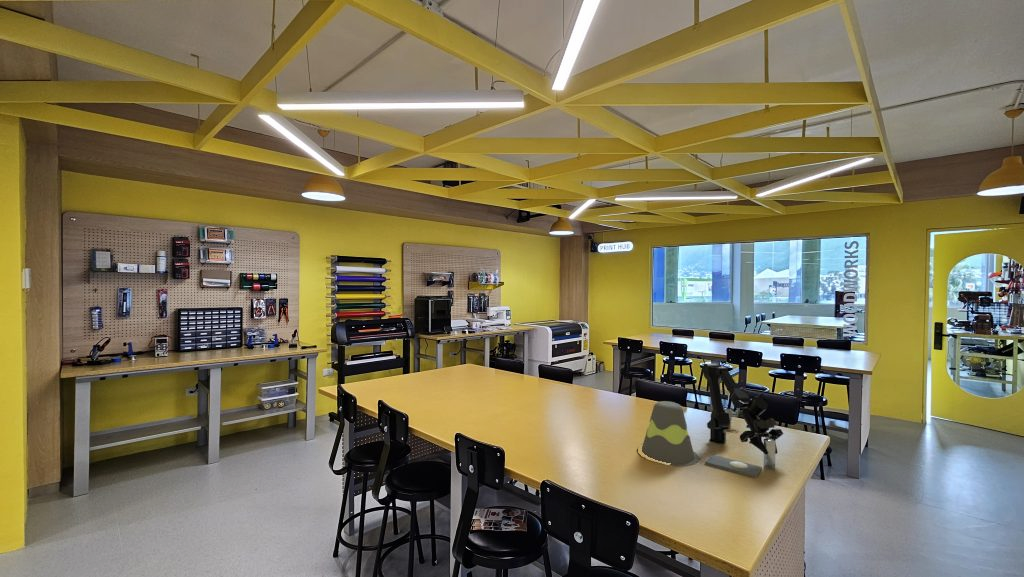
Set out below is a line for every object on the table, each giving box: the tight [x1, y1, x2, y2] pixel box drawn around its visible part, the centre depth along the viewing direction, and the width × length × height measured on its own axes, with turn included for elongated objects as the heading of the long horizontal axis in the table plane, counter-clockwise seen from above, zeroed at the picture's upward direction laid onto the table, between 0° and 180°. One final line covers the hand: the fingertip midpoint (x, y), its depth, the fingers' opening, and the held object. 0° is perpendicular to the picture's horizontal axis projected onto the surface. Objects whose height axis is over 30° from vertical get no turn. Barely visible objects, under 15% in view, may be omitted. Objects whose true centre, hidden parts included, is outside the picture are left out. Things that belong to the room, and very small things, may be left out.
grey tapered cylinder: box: [642, 400, 701, 467], centre depth 200 cm, size 28×28×24 cm
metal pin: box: [763, 438, 776, 471], centre depth 185 cm, size 4×4×12 cm
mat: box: [704, 454, 763, 479], centre depth 185 cm, size 20×11×1 cm, turn 48°
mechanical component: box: [723, 408, 740, 429], centre depth 240 cm, size 3×10×10 cm, turn 79°
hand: (772, 453), depth 183 cm, fingers closed on metal pin, 4 cm apart
